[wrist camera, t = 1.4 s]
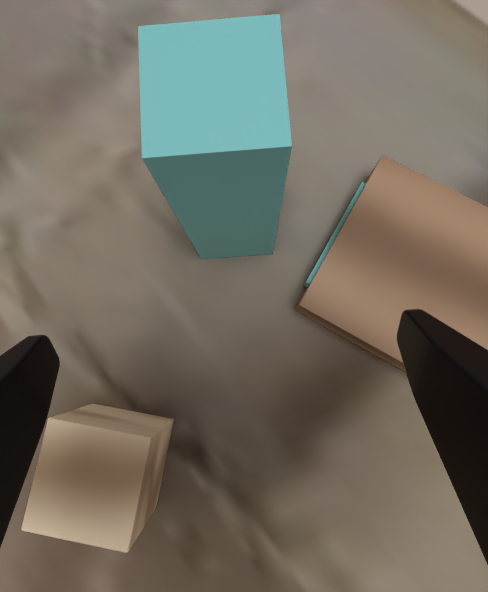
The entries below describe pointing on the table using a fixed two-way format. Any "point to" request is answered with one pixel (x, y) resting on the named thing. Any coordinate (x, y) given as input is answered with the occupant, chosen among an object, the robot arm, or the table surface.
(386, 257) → the tan flat block
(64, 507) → the birch cube
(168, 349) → the table surface
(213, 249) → the teal pillar
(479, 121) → the table surface
